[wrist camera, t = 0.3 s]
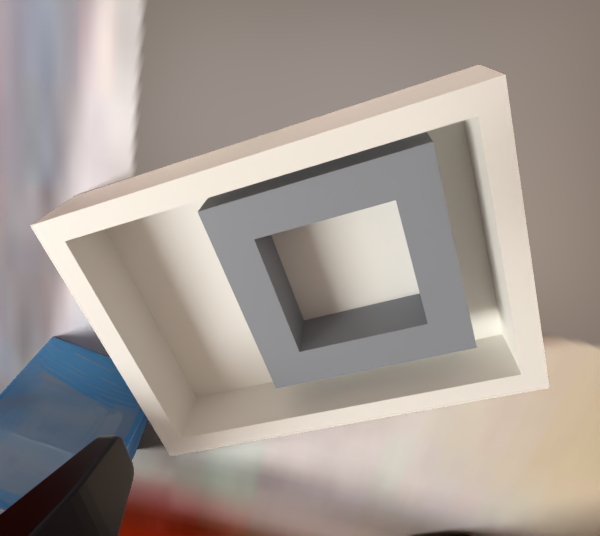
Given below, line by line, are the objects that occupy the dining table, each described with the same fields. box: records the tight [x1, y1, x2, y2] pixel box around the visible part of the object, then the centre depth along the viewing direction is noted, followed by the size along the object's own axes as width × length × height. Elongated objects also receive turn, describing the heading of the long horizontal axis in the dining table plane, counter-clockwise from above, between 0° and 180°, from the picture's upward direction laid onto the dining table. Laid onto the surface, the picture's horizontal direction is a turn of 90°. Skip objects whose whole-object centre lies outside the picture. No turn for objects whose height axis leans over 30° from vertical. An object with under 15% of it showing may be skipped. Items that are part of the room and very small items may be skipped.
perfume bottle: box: [0, 337, 148, 514], centre depth 23 cm, size 6×6×12 cm
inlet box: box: [30, 64, 549, 456], centre depth 22 cm, size 13×18×4 cm
